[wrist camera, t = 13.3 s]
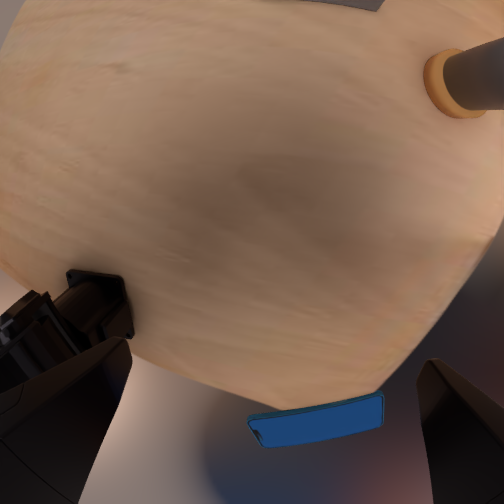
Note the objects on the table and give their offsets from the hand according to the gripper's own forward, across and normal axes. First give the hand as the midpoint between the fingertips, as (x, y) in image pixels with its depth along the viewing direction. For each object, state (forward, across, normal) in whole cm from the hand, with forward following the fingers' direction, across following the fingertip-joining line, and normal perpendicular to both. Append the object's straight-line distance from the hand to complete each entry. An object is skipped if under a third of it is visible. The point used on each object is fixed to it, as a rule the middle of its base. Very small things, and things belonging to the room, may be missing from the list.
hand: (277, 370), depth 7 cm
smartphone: (+14, -6, +22) cm, 27 cm away
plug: (+13, -12, -12) cm, 21 cm away
